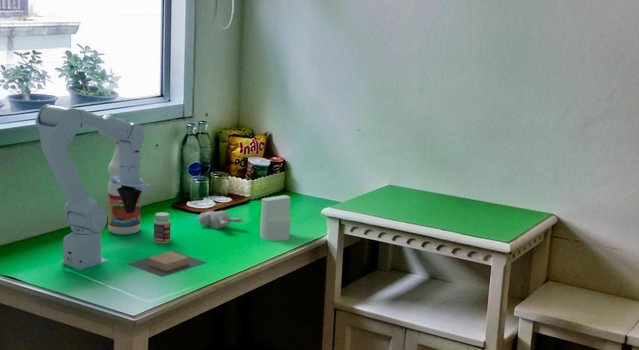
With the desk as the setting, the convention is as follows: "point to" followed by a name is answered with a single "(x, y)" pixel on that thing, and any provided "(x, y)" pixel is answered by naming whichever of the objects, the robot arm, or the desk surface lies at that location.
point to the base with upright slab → (275, 218)
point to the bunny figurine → (216, 219)
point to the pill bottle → (162, 228)
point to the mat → (144, 266)
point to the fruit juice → (120, 204)
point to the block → (168, 261)
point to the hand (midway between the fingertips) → (130, 212)
